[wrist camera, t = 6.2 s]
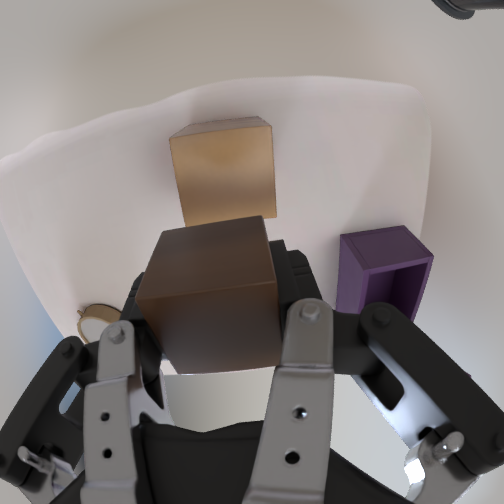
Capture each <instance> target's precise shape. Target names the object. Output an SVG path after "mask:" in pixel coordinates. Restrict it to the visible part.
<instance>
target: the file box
mask: <svg viewBox="0 0 504 504" xmlns="http://www.w3.org/2000/svg"><path fill="white" fill-rule="evenodd" d="M433 259H434V256H433V254H432V253H431V252H430V251H429V250H428V249H427V248H426V247H425V246H424V245H423V244H422V243H421V242H420V241H419V240H418V239H417V238H416V237H415V236H414V235H413V234H412V233H411V232H410V231H409V230H408V229H407V228H406V227H405V226H397V227H390V228H384V229H377V230H370V231H363V232H356V233H349V234H342V235H340V257H339V274H338V287H337V299H336V310H335V311H338V312H342V313H355V314H360V313H361V310H362V309H363V308H364V307H365V306H366V305H368V304H370V303H374V302H385V303H389V304H391V305H393V306H395V307H396V308H397V309H398V310H400V311H401V312H402V313H403V314H404V315H405V316H406V317H407V318H408V319H410V320H411V321H412V322H413V321H414V319H415V316H416V313H417V311H418V308H419V305H420V302H421V299H422V296H423V293H424V290H425V287H426V283H427V280H428V277H429V273H430V270H431V266H432V262H433Z"/></svg>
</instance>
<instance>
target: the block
mask: <svg viewBox="0 0 504 504" xmlns="http://www.w3.org/2000/svg"><path fill="white" fill-rule="evenodd" d="M135 301H136V303H137V305H138V307H139V309H140V311H141V313H142V314H143V316H144V318H145V320H146V322H147V324H148V325H149V327H150V329H151V331H152V332H153V334H154V336H155V338H156V339H157V341H158V343H159V345H160V346H161V348H162V350H163V351H164V353H165V355H166V356H167V358H168V359H169V361H170V363H171V364H172V366H173V367H174V369H175V370H176V372H177V374H179V375H188V374H205V373H218V372H230V371H240V370H249V369H257V368H264V367H272V366H277V365H279V361H280V356H281V350H282V344H283V336H282V325H281V315H280V305H279V295H278V286H277V279H276V274H275V269H274V265H273V260H272V255H271V251H270V246H269V242H268V237H267V233H266V228H265V224H264V219H263V216H262V215H258V216H251V217H244V218H238V219H231V220H225V221H219V222H213V223H207V224H201V225H195V226H189V227H184V228H178V229H172V230H167V231H163V232H162V233H161V235H160V238H159V240H158V242H157V245H156V247H155V249H154V251H153V254H152V256H151V259H150V261H149V263H148V266H147V268H146V271H145V273H144V276H143V278H142V281H141V283H140V286H139V288H138V291H137V293H136V296H135Z"/></svg>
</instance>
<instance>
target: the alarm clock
mask: <svg viewBox="0 0 504 504" xmlns="http://www.w3.org/2000/svg"><path fill="white" fill-rule="evenodd" d="M77 312H78V313H79V314H80V315H81V316H82V317H81V318H80V320H79V322H78V324H77V326H78V332H79V334H80V336H81V338H82V339H83V340H84V341H85V343H86V344H88V343H91V342H94V341H98V340H100V336H101V333H102V332H103V330H104V329H105V328H106V327H107V326H108V325H110V324H111V323H113V322H116V321H119V318H120V315H121V313H120V312H118V311H117V310H115V309H112V308H110V307H108V306H104V305H99V304H98V305H91V306H89V307H88V308H86V310H85V312H84V314H83V313H82V312H81V311H79V310H78V311H77Z"/></svg>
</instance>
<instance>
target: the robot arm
mask: <svg viewBox="0 0 504 504" xmlns="http://www.w3.org/2000/svg"><path fill="white" fill-rule="evenodd" d="M443 1H444V2H445V3H446V4H447V5H449V6H450V7H451V8H453V9H455V10H457V11H460V12H468V11H472V10H485V9H504V0H443ZM269 246H270V251H271V255H272V260H273V265H274V269H275V274H276V279H277V286H278V295H279V305H280V315H281V325H282V336H283V344H282V350H281V356H280V361H279V365H277V366H276V367H275V370H274V375H273V379H272V384H271V389H270V394H269V400H268V405H267V409H266V414H265V419H264V420H261V421H252V422H241V423H236V424H234V425H230V426H227V427H223V428H219V429H215V430H212V431H208V432H204V433H203V432H196V431H192V430H188V429H184V428H180V427H177V426H175V424H174V422H173V420H172V418H171V416H170V412H169V408H168V402H167V396H166V389H165V384H164V376H163V372H162V370H161V369H160V364H161V361H163V360H169V359H168V358H167V356H166V355H165V353H164V351H163V350H162V348H161V346H160V345H159V343H158V341H157V339H156V338H155V336H154V334H153V332H152V331H151V329H150V327H149V325H148V324H147V322H146V320H145V318H144V316H143V314H142V313H141V311H140V309H139V307H138V305H137V303H136V301H135V296H136V293H137V291H138V288H139V286H140V283H141V281H142V278H143V276H144V273H145V272H142V273H141V274H140V275H139V276H138V277H137V278H136V280H135V281H134V283H133V286H132V288H131V291H130V293H129V295H128V298H127V300H126V303H125V305H124V308H123V310H122V313H121V315H120V318H119V321H116V322H113V323H111V324H110V325H108V326H107V327H106V328H105V329H104V330H103V332H102V333H101V336H100V340H98V341H94V342H91V343H88V344H85V345H84V343H83V342H82V341H81V339H80V338H79V337H77V336H69V337H67V338H65V339H63V340H62V341H61V342H60V343H59V344H58V345H57V346H56V348H55V349H54V350H53V352H52V353H51V354H50V356H49V357H48V358H47V360H46V361H45V363H44V364H43V365H42V367H41V368H40V369H39V371H38V372H37V374H36V375H35V377H34V378H33V379H32V381H31V382H30V384H29V385H28V387H27V389H26V390H25V391H24V393H23V395H22V396H21V398H20V399H19V401H18V402H17V404H16V405H15V407H14V409H13V410H12V412H11V413H10V415H9V417H8V419H7V420H6V422H5V424H4V425H3V427H2V429H1V431H0V478H2V479H3V480H5V481H7V482H9V483H11V484H12V485H14V486H15V487H18V488H19V489H20V491H21V492H22V493H23V494H24V495H25V496H26V497H27V498H28V499H29V500H30V502H31V503H32V504H455V503H456V502H457V501H458V500H459V499H460V498H461V497H462V496H463V495H464V494H465V493H466V492H467V491H468V490H469V489H470V488H471V487H472V486H473V484H474V483H475V482H476V481H477V480H478V479H479V478H480V477H481V476H482V475H483V474H485V473H487V472H489V471H491V470H493V469H495V468H497V467H499V466H501V465H503V464H504V412H503V411H502V410H501V409H500V408H499V407H498V406H497V405H496V404H495V403H494V401H493V400H492V399H491V398H490V397H489V396H488V395H487V394H486V393H485V392H484V391H483V390H482V389H481V388H480V387H479V386H478V385H477V384H476V383H475V382H474V381H473V380H472V379H471V377H470V376H469V375H468V374H467V373H466V372H465V371H464V370H463V369H461V368H460V367H459V366H458V365H457V364H456V363H455V362H454V361H453V360H452V359H451V358H450V357H449V356H448V355H447V354H446V353H445V352H444V351H443V350H442V349H441V348H440V347H439V346H438V345H436V344H435V342H433V341H432V340H431V339H430V338H429V337H428V336H427V335H426V334H425V333H424V332H423V331H421V329H419V328H418V327H417V326H416V325H415V324H414V323H413V322H412V321H411V320H410V319H408V318H407V317H406V316H405V315H404V314H403V313H402V312H401V311H400V310H398V309H397V308H396V307H395V306H393V305H391V304H389V303H385V302H374V303H370V304H368V305H366V306H365V307H364V308H363V309H362V310H361V313H360V314H355V313H342V312H338V311H335V310H333V309H332V308H331V307H330V306H329V305H328V304H327V303H326V302H324V301H323V299H322V296H321V294H320V291H319V288H318V286H317V283H316V281H315V278H314V275H313V273H312V270H311V268H310V266H309V263H308V260H307V258H306V256H305V255H304V254H303V253H301V252H300V251H299V250H292V251H287V250H286V247H285V244H284V240H283V239H282V240H276V241H269ZM334 374H347V375H351V377H352V378H353V379H354V380H355V382H356V383H357V384H358V385H359V386H360V388H361V389H362V390H363V391H364V393H365V394H366V395H367V396H368V398H369V399H370V400H371V401H372V403H373V404H374V405H375V406H376V408H377V409H378V410H379V411H380V412H381V414H382V415H383V416H384V418H385V419H386V420H387V421H388V423H389V424H390V425H391V426H392V428H393V429H394V430H395V431H396V432H397V434H398V435H399V436H400V437H401V438H402V440H403V441H404V442H405V444H406V445H407V446H408V447H409V449H410V450H409V452H408V454H407V455H406V458H405V470H406V472H407V475H408V476H409V479H410V489H409V492H408V494H407V496H406V497H405V498H404V497H403V496H401V495H399V494H398V493H396V492H394V491H393V490H391V489H389V488H388V487H386V486H385V485H383V484H381V483H380V482H378V481H377V480H375V479H374V478H372V477H371V476H369V475H368V474H366V473H364V472H363V471H362V470H360V469H359V468H357V467H356V466H355V465H353V464H352V463H350V462H349V461H348V460H346V459H345V458H343V457H342V456H341V455H339V454H338V453H337V452H335V451H334V450H333V449H331V448H330V441H331V429H332V416H333V397H334ZM73 382H75V383H76V384H77V385H78V386H79V387H80V388H81V389H80V391H79V392H78V394H77V396H76V397H75V399H74V400H73V402H72V404H71V405H70V407H69V408H68V410H67V411H66V413H64V414H60V412H59V404H60V402H61V401H62V399H63V398H64V396H65V394H66V393H67V391H68V390H69V388H70V387H71V385H72V384H73ZM83 452H84V462H85V470H84V471H82V472H81V473H80V474H79V476H77V475H76V474H75V473H73V471H74V469H75V467H76V465H77V463H78V461H79V459H80V458H81V455H82V454H83Z"/></svg>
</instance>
